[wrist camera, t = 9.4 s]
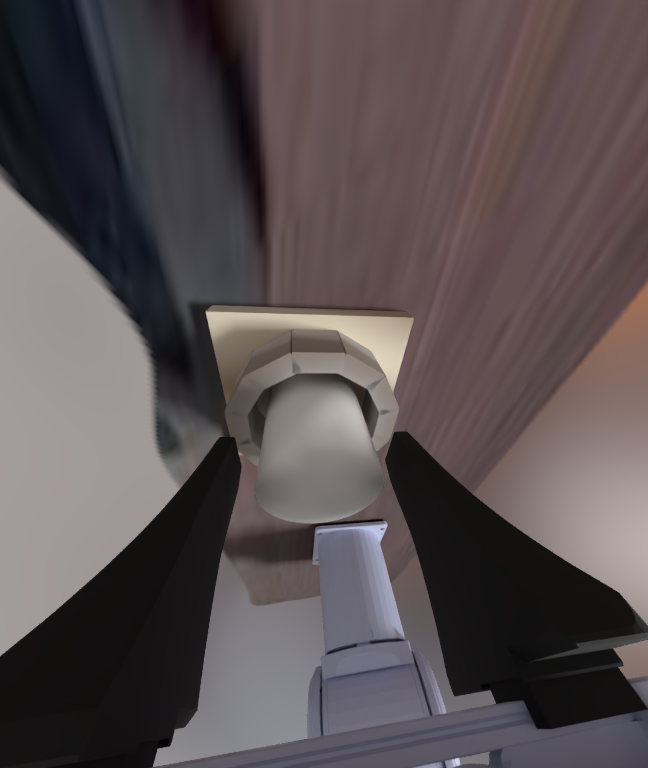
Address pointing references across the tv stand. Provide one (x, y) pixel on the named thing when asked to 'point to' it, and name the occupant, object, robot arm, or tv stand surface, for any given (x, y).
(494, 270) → the tv stand surface
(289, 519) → the white rounded piece
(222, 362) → the beige square plate
